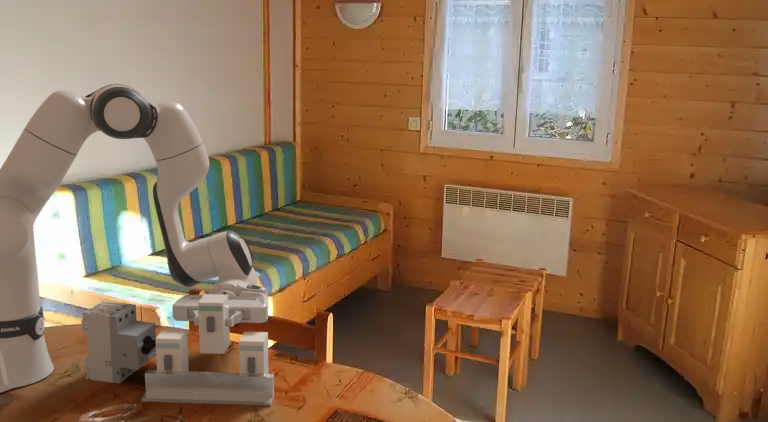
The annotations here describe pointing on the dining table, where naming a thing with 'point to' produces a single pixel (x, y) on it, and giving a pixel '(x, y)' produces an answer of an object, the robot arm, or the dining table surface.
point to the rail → (209, 387)
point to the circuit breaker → (116, 341)
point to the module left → (172, 350)
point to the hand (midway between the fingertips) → (213, 323)
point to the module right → (254, 352)
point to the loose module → (213, 323)
